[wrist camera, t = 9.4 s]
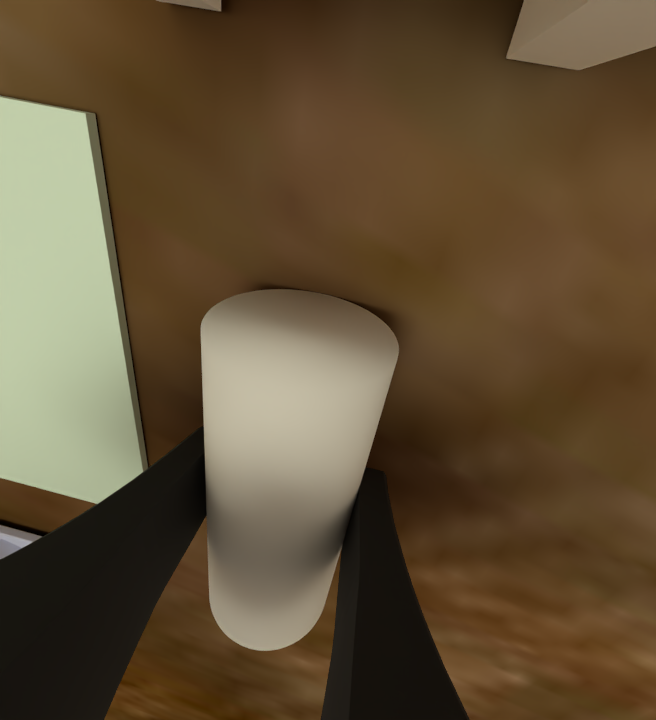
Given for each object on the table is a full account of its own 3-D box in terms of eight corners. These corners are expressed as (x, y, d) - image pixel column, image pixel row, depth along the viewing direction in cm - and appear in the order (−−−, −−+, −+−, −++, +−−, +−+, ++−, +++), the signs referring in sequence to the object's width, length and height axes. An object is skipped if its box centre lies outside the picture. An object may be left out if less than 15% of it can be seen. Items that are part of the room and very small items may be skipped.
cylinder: (335, 544, 15) (313, 667, 12) (236, 518, 15) (186, 630, 12) (401, 310, 9) (395, 413, 6) (245, 276, 10) (158, 357, 6)
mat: (154, 512, 16) (150, 518, 16) (-22, 464, 17) (-28, 469, 16) (94, 113, 8) (85, 113, 8) (-225, 52, 9) (-243, 50, 9)
